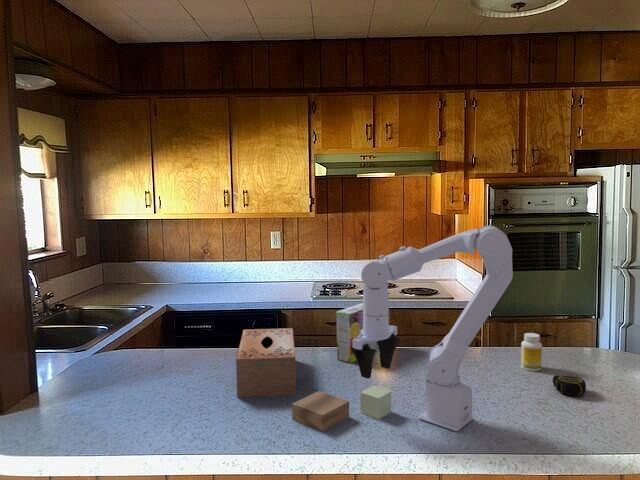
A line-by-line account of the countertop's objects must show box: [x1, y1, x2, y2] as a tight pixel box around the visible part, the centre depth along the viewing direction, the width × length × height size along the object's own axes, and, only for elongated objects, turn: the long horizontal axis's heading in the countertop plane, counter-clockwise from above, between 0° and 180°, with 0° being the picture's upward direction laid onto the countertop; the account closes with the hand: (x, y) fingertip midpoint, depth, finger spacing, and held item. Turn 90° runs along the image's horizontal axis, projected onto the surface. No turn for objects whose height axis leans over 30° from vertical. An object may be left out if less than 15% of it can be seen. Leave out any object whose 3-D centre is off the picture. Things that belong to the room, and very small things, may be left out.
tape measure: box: [552, 374, 587, 397], centre depth 126 cm, size 7×7×4 cm
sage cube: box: [360, 385, 392, 420], centre depth 116 cm, size 5×5×5 cm
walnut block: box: [291, 390, 350, 433], centre depth 114 cm, size 9×9×4 cm
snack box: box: [335, 302, 379, 364], centre depth 157 cm, size 21×6×15 cm, turn 141°
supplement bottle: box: [519, 332, 543, 372], centre depth 143 cm, size 5×5×10 cm
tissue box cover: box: [235, 327, 297, 398], centre depth 138 cm, size 26×14×10 cm, turn 5°
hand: (375, 372), depth 115 cm, fingers open, 7 cm apart
